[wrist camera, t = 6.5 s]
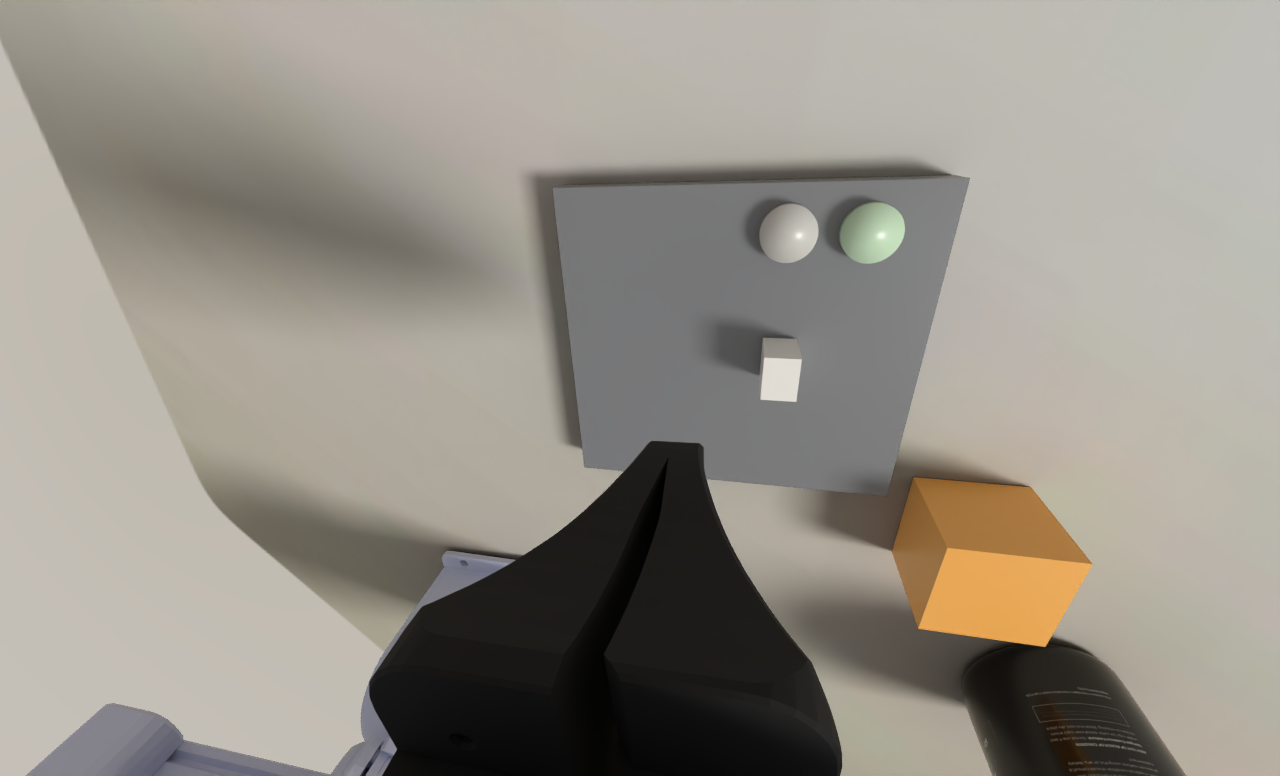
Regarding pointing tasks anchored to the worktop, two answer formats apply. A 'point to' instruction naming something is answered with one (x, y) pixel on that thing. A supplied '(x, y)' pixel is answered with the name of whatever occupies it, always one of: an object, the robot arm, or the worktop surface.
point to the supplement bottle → (1059, 716)
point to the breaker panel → (754, 319)
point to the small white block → (780, 369)
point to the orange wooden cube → (986, 561)
